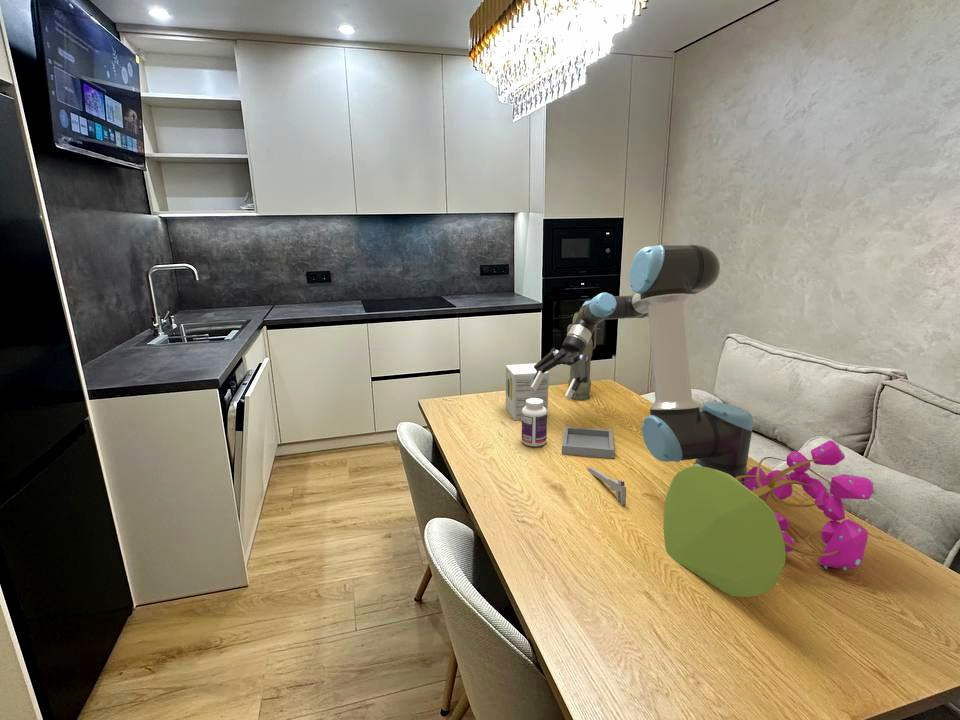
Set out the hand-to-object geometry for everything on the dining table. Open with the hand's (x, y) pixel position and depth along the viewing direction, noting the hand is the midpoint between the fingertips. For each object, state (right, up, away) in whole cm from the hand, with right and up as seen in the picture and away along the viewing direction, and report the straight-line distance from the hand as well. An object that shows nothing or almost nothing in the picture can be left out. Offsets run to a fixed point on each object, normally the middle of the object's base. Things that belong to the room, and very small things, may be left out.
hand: (549, 393), depth 164 cm
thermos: (+18, -4, +40) cm, 43 cm away
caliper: (+11, -23, -30) cm, 40 cm away
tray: (+11, -16, -6) cm, 21 cm away
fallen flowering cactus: (+37, -30, -58) cm, 76 cm away
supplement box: (-6, -9, +23) cm, 25 cm away
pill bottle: (-6, -16, -3) cm, 17 cm away
